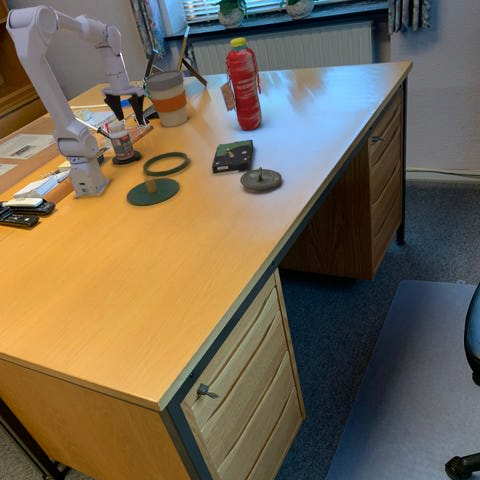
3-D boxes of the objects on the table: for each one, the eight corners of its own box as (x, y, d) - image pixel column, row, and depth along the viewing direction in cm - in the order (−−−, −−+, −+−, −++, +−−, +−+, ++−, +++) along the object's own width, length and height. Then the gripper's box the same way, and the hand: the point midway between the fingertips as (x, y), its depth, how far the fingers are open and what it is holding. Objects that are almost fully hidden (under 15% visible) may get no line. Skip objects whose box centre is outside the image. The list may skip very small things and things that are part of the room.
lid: (239, 187, 126) (232, 171, 123) (271, 167, 126) (265, 151, 123) (255, 205, 119) (248, 189, 115) (289, 183, 119) (283, 166, 115)
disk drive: (251, 171, 129) (253, 148, 140) (249, 161, 127) (252, 138, 138) (213, 176, 131) (218, 152, 142) (211, 166, 129) (217, 143, 140)
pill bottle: (131, 159, 146) (120, 126, 139) (114, 161, 147) (102, 128, 141) (137, 151, 150) (127, 119, 144) (121, 153, 152) (110, 121, 145)
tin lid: (173, 205, 122) (169, 188, 119) (121, 210, 124) (115, 194, 121) (184, 179, 132) (180, 163, 129) (135, 184, 135) (130, 169, 132)
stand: (137, 165, 145) (135, 161, 145) (109, 168, 147) (108, 164, 146) (144, 152, 152) (143, 148, 151) (118, 155, 154) (116, 152, 153)
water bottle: (227, 136, 150) (210, 47, 134) (227, 126, 156) (212, 40, 140) (265, 129, 149) (253, 38, 133) (264, 120, 155) (253, 32, 139)
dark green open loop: (184, 175, 134) (183, 169, 133) (139, 180, 136) (137, 174, 135) (193, 155, 144) (191, 149, 142) (151, 160, 146) (149, 154, 145)
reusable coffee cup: (197, 121, 166) (186, 74, 156) (162, 131, 163) (149, 84, 153) (186, 111, 175) (175, 67, 165) (153, 122, 172) (140, 77, 163)
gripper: (144, 66, 138) (157, 115, 146) (106, 68, 144) (121, 114, 153) (129, 75, 133) (143, 124, 142) (90, 76, 140) (106, 123, 149)
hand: (131, 120), depth 147 cm, fingers open, 7 cm apart
